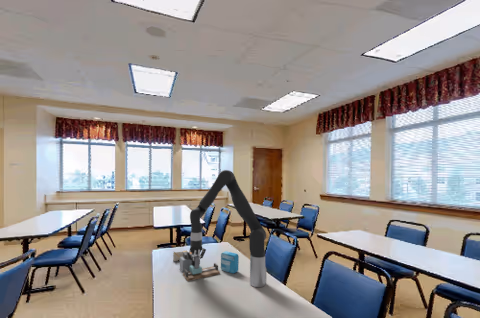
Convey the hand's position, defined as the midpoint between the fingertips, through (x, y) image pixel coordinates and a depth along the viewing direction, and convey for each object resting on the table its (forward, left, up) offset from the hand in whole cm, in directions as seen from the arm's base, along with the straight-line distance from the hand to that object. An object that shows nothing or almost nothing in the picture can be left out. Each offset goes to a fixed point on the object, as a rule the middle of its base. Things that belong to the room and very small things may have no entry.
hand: (195, 265), depth 153 cm
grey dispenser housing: (0, -13, -7) cm, 14 cm away
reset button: (0, -13, +2) cm, 13 cm away
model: (+1, -30, -7) cm, 31 cm away
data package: (-23, +4, -7) cm, 24 cm away
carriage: (0, 0, -4) cm, 4 cm away
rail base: (-4, 0, -7) cm, 8 cm away
